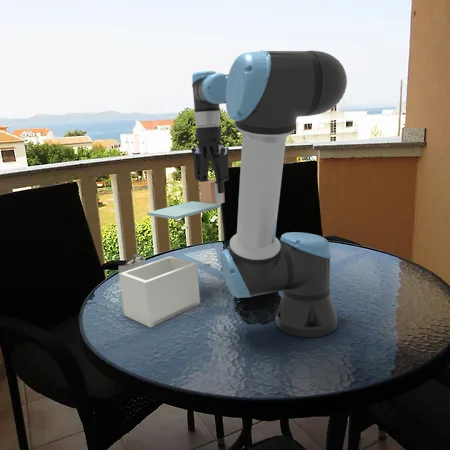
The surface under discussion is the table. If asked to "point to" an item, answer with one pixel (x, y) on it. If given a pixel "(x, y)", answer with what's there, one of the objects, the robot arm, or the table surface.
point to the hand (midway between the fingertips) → (213, 202)
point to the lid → (191, 204)
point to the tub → (159, 290)
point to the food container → (132, 263)
